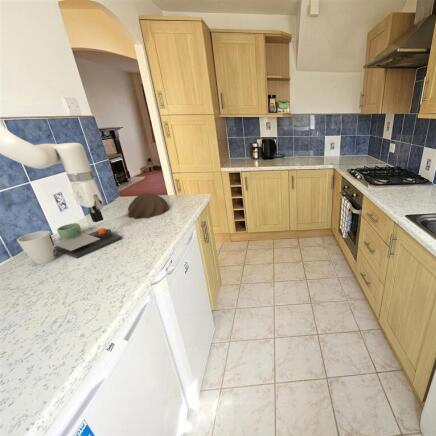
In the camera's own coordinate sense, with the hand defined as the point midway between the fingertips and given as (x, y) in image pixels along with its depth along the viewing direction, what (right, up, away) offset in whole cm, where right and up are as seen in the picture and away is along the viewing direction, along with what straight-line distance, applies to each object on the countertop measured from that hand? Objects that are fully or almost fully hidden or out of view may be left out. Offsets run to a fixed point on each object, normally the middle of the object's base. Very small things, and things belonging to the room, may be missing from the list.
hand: (98, 220), depth 99 cm
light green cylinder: (-14, -8, +4) cm, 16 cm away
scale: (-2, -10, -1) cm, 10 cm away
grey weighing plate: (-4, -8, -5) cm, 10 cm away
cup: (-10, -14, -11) cm, 21 cm away
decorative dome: (+3, +5, +31) cm, 32 cm away
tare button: (0, -5, +2) cm, 6 cm away
